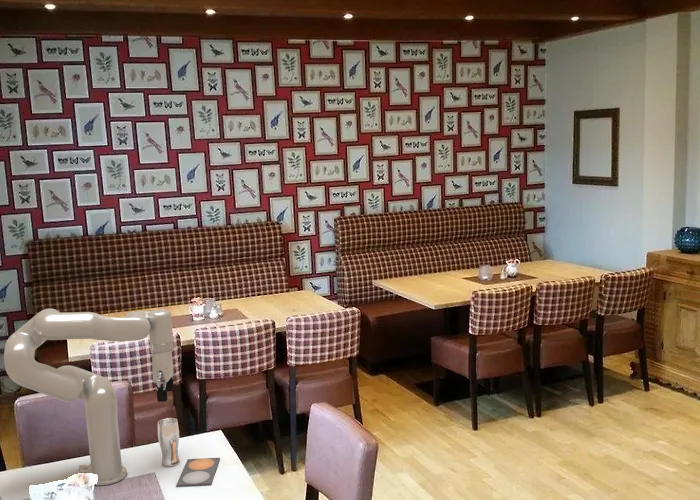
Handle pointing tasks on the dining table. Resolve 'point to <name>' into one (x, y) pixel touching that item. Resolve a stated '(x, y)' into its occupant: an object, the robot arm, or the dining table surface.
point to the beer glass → (169, 441)
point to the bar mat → (198, 472)
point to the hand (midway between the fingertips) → (165, 396)
